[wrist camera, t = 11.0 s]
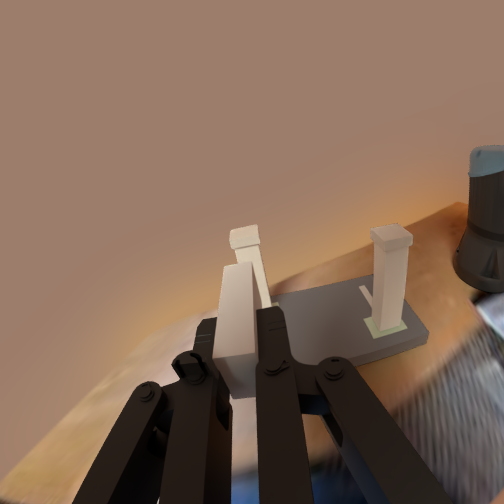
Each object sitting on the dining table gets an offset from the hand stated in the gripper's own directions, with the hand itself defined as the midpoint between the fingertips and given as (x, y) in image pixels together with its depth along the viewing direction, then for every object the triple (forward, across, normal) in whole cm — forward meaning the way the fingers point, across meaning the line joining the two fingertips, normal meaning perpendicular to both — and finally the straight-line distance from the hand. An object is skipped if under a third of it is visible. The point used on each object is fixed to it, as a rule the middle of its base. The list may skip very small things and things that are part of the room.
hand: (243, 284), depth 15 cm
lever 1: (+19, -1, -17) cm, 26 cm away
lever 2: (+11, +15, -17) cm, 25 cm away
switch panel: (+15, +7, -20) cm, 26 cm away
